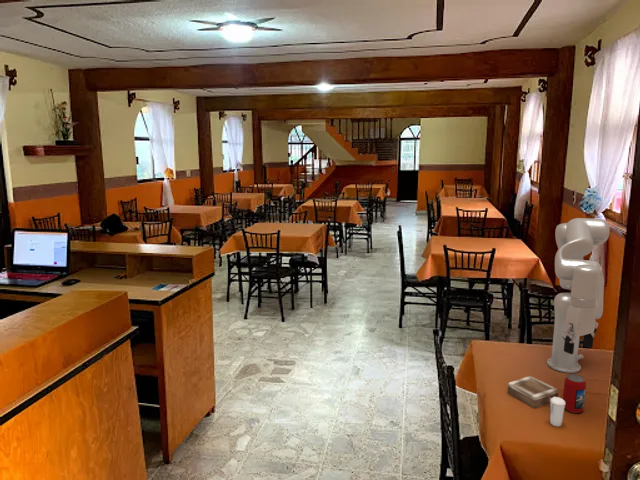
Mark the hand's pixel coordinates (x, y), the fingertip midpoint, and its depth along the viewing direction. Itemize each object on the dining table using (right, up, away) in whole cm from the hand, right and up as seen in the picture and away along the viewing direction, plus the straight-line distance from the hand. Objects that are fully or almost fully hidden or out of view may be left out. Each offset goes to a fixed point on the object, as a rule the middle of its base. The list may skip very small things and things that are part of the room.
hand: (578, 350), depth 166 cm
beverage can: (+1, -22, +5) cm, 23 cm away
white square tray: (-10, -20, +13) cm, 26 cm away
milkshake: (-10, -24, -4) cm, 26 cm away
